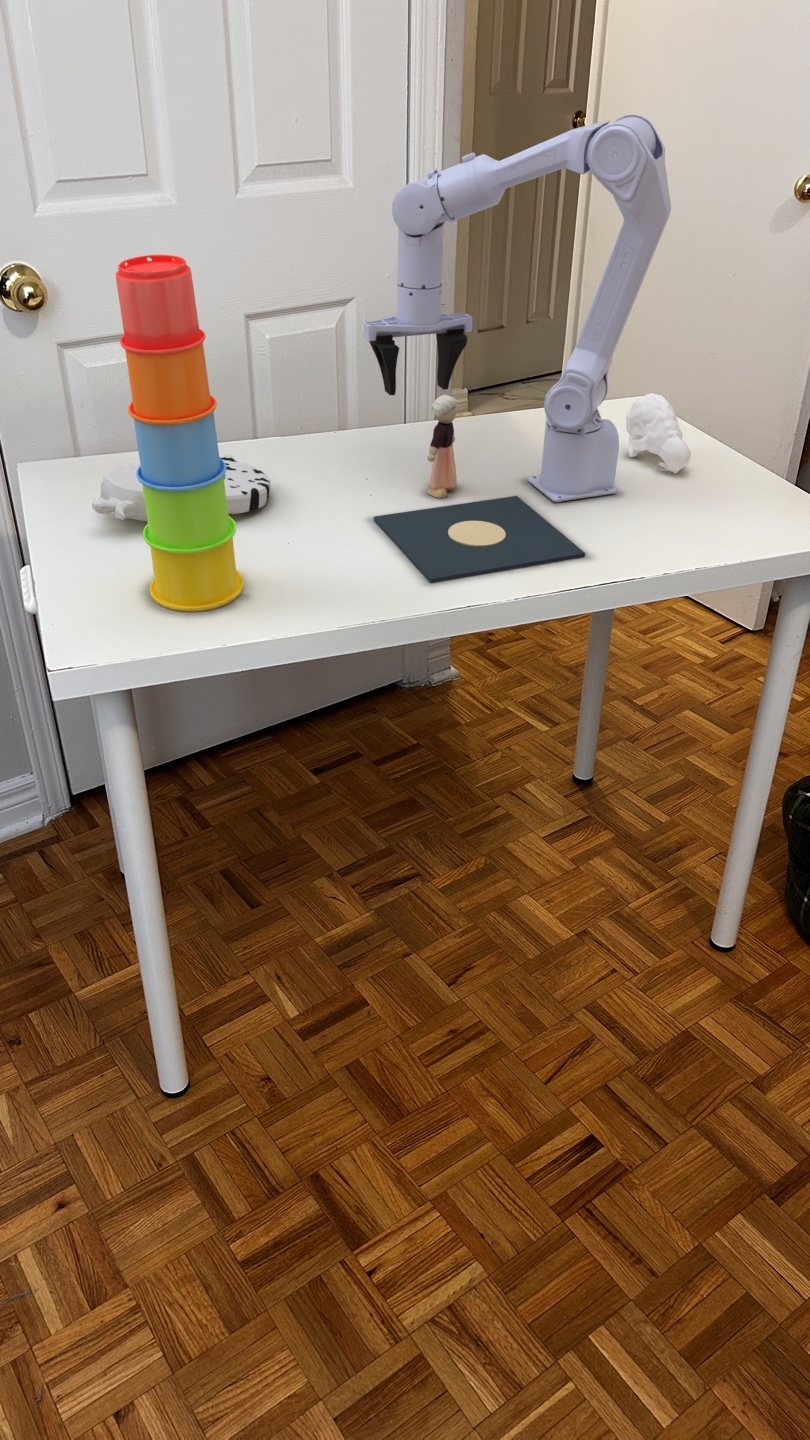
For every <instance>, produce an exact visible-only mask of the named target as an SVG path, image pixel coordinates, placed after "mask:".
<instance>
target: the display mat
mask: <svg viewBox="0 0 810 1440" xmlns="http://www.w3.org/2000/svg"><path fill="white" fill-rule="evenodd" d="M373 521H374V522H375V523H376V524H377V526H378V527H379V528H380V529H381V530H382V531H383V532H384V533H385V535H387V536H388V538H389V539H390V540H391V541H392V542H393V543H394V544H395V546H396V547H397V548H398V549H399V550H400V551H401V552H402V553H403V554H404V556H406V557H407V558H408V560H409V561H410V562H411V563H412V565H414V566H415V567H416V568H417V570H418V571H419V572H420V573H421V574H422V575H423V576H424V577H425V579H426V580H427V581H428V582H429V583H436V582H437V583H438V582H443V581H449V580H454V579H460V578H467V577H472V576H477V575H478V576H479V575H484V574H491V573H496V572H502V571H507V570H508V571H509V570H514V569H519V568H526V567H531V566H537V565H544V564H549V563H555V562H561V561H566V560H573V559H579V558H585V557H586V552H585V551H584V550H583V549H581V547H579V546H578V545H577V544H575V543H574V542H573V541H572V540H570V539H569V538H568V537H567V536H566V535H565V534H564V533H562V532H561V531H560V530H559V529H557V528H556V526H554V525H553V524H551V523H550V522H549V521H548V520H547V519H546V518H544V517H543V516H541V514H539V513H538V512H537V511H536V510H535V509H533V508H532V507H531V506H530V505H528V504H527V503H526V502H525V501H523V500H522V499H521V498H520V497H519V496H518V495H513V496H506V497H499V498H492V499H485V500H479V501H478V500H477V501H472V502H464V503H457V504H451V505H444V506H437V507H430V508H423V509H415V510H409V511H404V512H395V513H389V514H381V515H375V516H373Z"/></svg>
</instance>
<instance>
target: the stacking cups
mask: <svg viewBox="0 0 810 1440" xmlns="http://www.w3.org/2000/svg"><path fill="white" fill-rule="evenodd" d="M148 258H149V259H150V260H148ZM117 269H118V270H117V271H116V273H115V281H116V286H117V287H116V288H117V294H118V295H117V296H118V301H119V308H120V317H121V321H122V329H123V335H122V336H121V338H120V340H119V344H120V347H121V348H122V349H124V352H125V358H126V359H125V360H126V364H127V365H126V366H127V371H128V379H129V386H130V392H131V400H132V401H131V402H130V404H129V405H128V407H127V412H128V415H129V416H130V417H131V418H132V419H133V424H134V430H135V437H136V443H137V451H138V459H139V464H140V466H139V468H138V469H137V472H136V476H137V479H138V481H139V482H140V483H141V484H142V486H143V492H144V499H145V506H146V514H147V521H146V522H147V524H146V525H145V526H144V527H143V530H142V536H143V537H142V538H143V540H144V541H145V543H146V544H147V545H148V546H149V548H150V554H151V563H152V569H153V579H152V580H151V581H150V584H149V594H150V597H151V598H152V599H153V601H155V603H157V604H158V605H160V606H162V607H164V608H167V609H170V610H174V611H181V612H200V611H201V612H202V611H208V610H213V609H216V608H219V607H222V606H224V605H227V604H229V603H231V602H233V601H234V600H236V598H238V597H239V596H240V595H241V593H242V592H243V589H244V587H245V582H244V580H245V579H244V577H243V575H242V574H241V573H240V571H238V570H237V566H236V564H237V563H236V557H235V547H234V546H235V545H234V536H235V534H236V532H237V524H236V522H235V519H233V518H232V517H231V516H230V515H229V514H228V508H227V500H226V492H225V483H224V474H225V472H226V464H225V462H224V461H223V460H222V459H221V458H222V457H220V452H219V443H218V436H217V435H218V434H217V428H216V420H215V414H214V413H215V412H214V411H215V410H216V408H217V406H218V404H217V400H216V398H215V397H214V396H213V395H211V392H210V386H209V385H210V384H209V379H208V377H209V376H208V370H207V363H206V355H205V347H204V341H205V340H206V333H205V331H203V330H202V329H201V328H200V324H199V318H198V310H197V309H198V308H197V303H196V296H195V295H196V294H195V289H194V282H193V275H192V269H191V266H189V265H188V264H187V260H186V259H185V258H184V257H182V256H178V255H172V254H147V255H141V256H134V257H131V258H126V259H124V260H123V261H121V262H119V264H118V265H117Z"/></svg>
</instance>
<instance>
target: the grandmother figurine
mask: <svg viewBox="0 0 810 1440" xmlns="http://www.w3.org/2000/svg"><path fill="white" fill-rule="evenodd" d="M457 407H458V400H457V399H456V398H455V397H453V396H452V395H448V394H443V395H440V396H438V397H437V398H436V399H435V400H434V401H433V403H432V404H431V406H430V409H431V410H432V411H433V414H434V415H435V418H436V420H437V424H436V425H435V426H434V429H433V433H432V439H431V441H430V445H429V446H430V447H429V450H428V454H427V461H428V462H430V463H431V470H430V480H429V487H430V488H429V489H428V490H427V495H429V496H432V497H433V498H437V499H445V498H446V497H448V495H449V494H448V492H451V491H453V490H454V488H455V487H456V486H457V483H458V482H457V481H458V480H457V467H456V466H457V465H456V460H455V453H454V452H455V451H454V446H453V443H455V440H456V437H455V428H454V423H453V421H454V420H455V418H456V415H457V414H456V413H457V412H456V409H457Z"/></svg>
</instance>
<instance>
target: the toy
mask: <svg viewBox="0 0 810 1440" xmlns="http://www.w3.org/2000/svg"><path fill="white" fill-rule="evenodd" d="M220 458H221V459H222V460H223V461H224V462H225V464H226V472H225V474H224V483H225V492H226V500H227V508H228V515H235V514H236V515H237V514H242V513H247V512H253V511H255V510H258V509H260V508H262V507H264V506H265V505H266V504H267V503H268V501H269V499H270V496H271V486H272V485H271V481H270V479H269V477H268V475H267V474H266V473H265V472H263V471H262V470H261V469H259V468H257V467H255V466H253V465H250V464H249V463H248V464H247V463H246V462H245V463H244V462H241V461H237V460H235V457H234V456H233V455H231V454H225V455H223V457H220ZM139 466H140V463H129V464H123V465H118V466H115V467H111V468H110V469H108V470H107V471H106V472H105V474H104V475H103V477H102V480H101V484H100V497H98V498H96V499H94V500H93V501H92V502H91V508H92V510H94V511H95V513H98V514H101V515H108V514H110V513H114V517H115V518H116V520H120V521H124V520H126V519H131V520H134V521H141V522H148V521H147V514H146V506H145V499H144V492H143V486H142V484H141V483H140V482H139V481H138V479H137V476H136V472H137V469H138V468H139Z"/></svg>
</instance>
